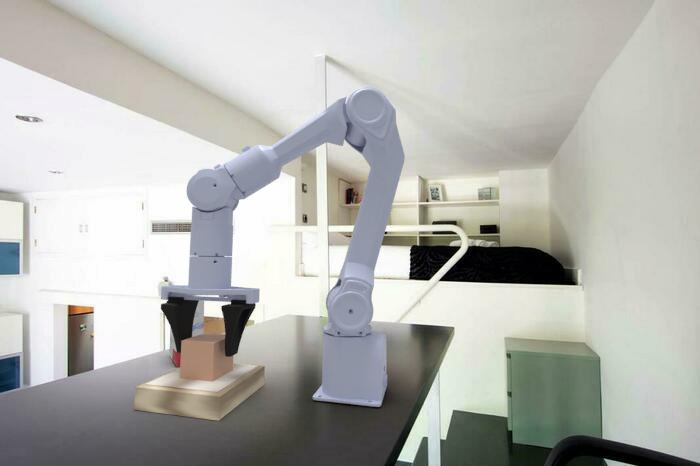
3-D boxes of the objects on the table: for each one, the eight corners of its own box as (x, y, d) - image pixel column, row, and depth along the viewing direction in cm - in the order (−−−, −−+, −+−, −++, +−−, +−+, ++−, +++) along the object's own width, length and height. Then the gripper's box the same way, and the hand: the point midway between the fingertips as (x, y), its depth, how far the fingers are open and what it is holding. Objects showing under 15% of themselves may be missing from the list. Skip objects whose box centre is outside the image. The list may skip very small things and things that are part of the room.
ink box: (204, 363, 63) (206, 298, 64) (173, 368, 60) (176, 299, 61) (195, 352, 70) (198, 293, 71) (167, 356, 67) (170, 294, 68)
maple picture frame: (264, 384, 53) (264, 364, 53) (218, 420, 41) (219, 394, 42) (195, 377, 56) (195, 358, 56) (134, 409, 44) (135, 385, 44)
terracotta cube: (232, 369, 51) (234, 335, 51) (212, 381, 46) (214, 343, 46) (202, 366, 52) (204, 332, 52) (179, 378, 47) (181, 340, 47)
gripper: (270, 257, 52) (267, 349, 51) (185, 255, 55) (181, 342, 54) (246, 257, 45) (242, 363, 44) (152, 255, 48) (146, 354, 47)
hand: (207, 352), depth 49 cm, fingers open, 7 cm apart
